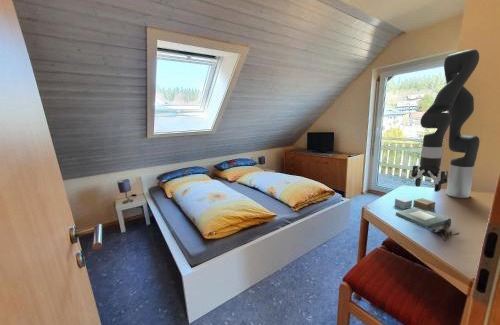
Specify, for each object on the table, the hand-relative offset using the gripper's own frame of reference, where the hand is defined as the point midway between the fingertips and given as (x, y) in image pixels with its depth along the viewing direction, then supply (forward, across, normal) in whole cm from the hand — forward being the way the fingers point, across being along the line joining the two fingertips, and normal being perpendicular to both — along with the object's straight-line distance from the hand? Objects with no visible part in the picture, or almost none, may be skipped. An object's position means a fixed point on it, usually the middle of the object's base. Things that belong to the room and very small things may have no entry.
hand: (426, 188), depth 105 cm
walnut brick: (+11, 0, 0) cm, 11 cm away
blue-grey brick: (+11, +6, +7) cm, 14 cm away
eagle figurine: (+11, -19, +18) cm, 28 cm away
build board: (+10, -6, +11) cm, 16 cm away
